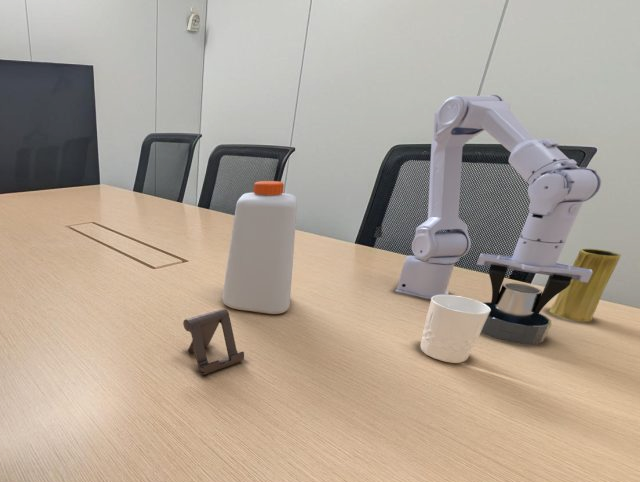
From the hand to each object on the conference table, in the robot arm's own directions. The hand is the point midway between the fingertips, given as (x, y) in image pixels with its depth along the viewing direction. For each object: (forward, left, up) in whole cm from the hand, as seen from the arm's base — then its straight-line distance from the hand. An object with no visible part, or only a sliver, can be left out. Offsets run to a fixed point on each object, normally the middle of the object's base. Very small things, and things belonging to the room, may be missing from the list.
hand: (513, 307), depth 72 cm
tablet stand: (-36, -49, -6) cm, 61 cm away
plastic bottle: (-43, -20, -6) cm, 48 cm away
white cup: (-7, -18, -6) cm, 20 cm away
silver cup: (0, 0, -5) cm, 5 cm away
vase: (+9, +18, -6) cm, 21 cm away
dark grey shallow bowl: (0, 0, -5) cm, 5 cm away
